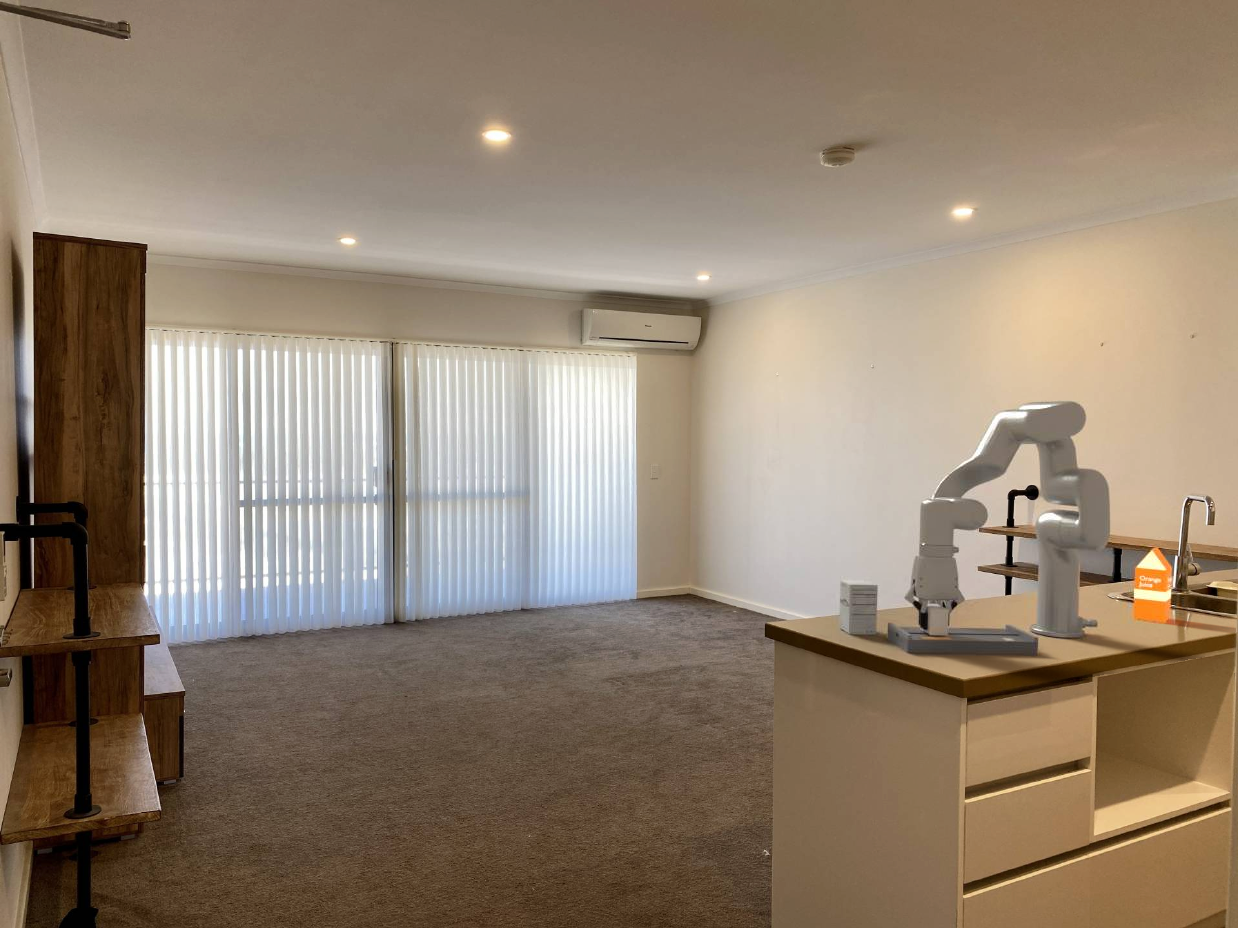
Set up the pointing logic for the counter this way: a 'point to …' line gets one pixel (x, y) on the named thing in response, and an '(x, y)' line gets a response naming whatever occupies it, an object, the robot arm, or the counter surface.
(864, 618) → the supplement box
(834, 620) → the counter surface
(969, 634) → the fader board
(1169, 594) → the orange juice
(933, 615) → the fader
